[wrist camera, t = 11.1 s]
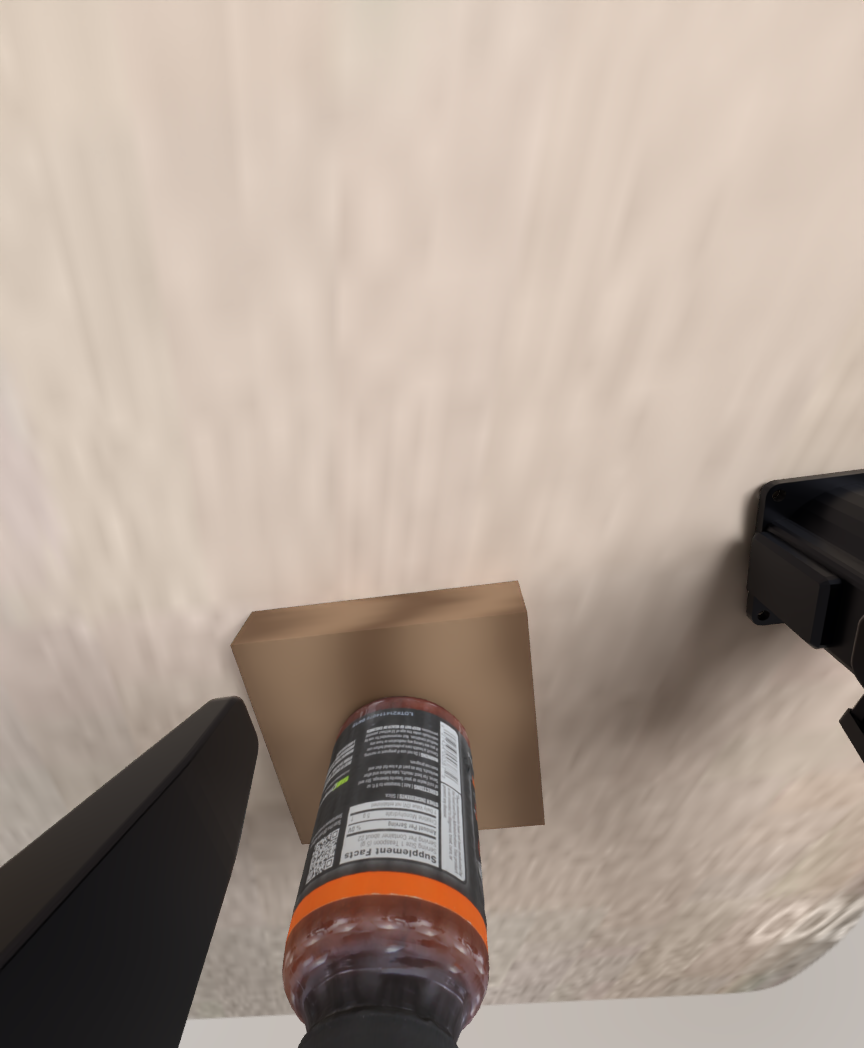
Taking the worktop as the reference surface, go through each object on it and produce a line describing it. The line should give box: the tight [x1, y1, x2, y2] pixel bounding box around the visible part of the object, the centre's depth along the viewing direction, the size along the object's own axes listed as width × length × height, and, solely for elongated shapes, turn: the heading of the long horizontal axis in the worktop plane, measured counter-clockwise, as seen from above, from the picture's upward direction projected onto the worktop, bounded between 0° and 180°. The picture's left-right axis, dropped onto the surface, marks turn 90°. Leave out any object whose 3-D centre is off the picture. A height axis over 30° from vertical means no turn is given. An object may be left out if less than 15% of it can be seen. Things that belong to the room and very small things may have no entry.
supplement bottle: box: [282, 696, 489, 1048], centre depth 17 cm, size 6×6×11 cm
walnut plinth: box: [231, 581, 545, 844], centre depth 23 cm, size 12×12×2 cm
